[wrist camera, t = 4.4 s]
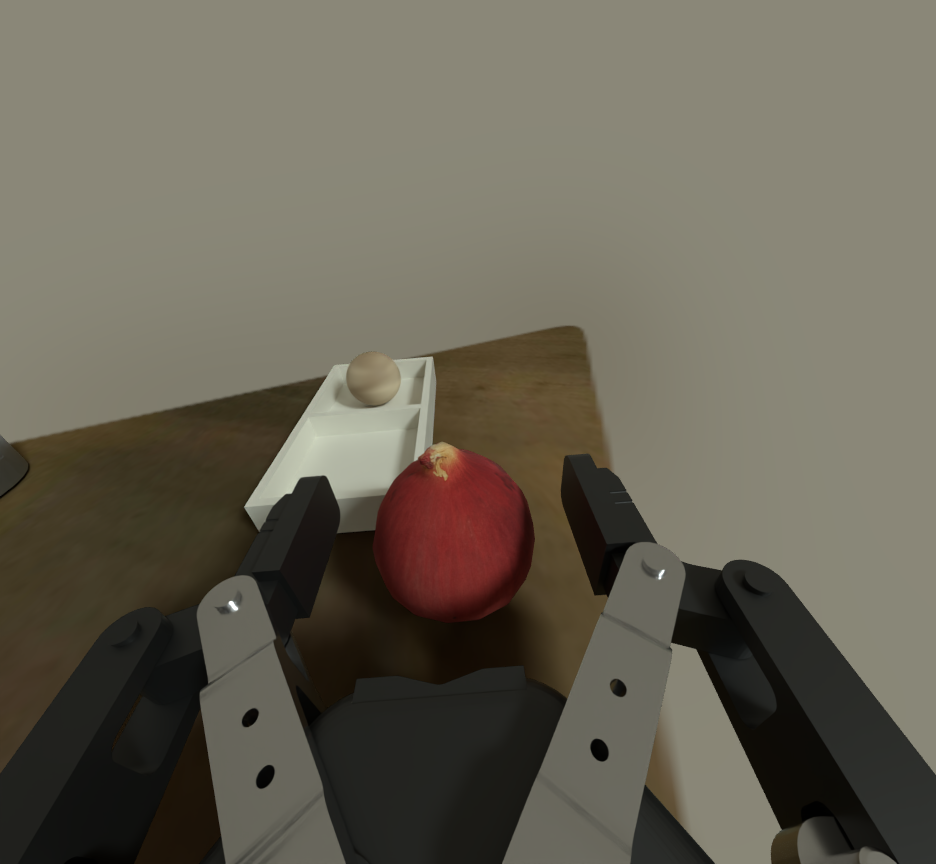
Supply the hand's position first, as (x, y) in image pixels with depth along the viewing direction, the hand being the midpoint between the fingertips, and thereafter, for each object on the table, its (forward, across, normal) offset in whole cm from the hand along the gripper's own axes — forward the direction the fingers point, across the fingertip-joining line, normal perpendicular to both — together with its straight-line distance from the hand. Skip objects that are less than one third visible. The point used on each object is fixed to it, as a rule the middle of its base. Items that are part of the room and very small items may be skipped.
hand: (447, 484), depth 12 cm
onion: (0, 0, +6) cm, 6 cm away
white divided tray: (+12, +6, +6) cm, 14 cm away
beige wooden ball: (+16, +6, +5) cm, 18 cm away
